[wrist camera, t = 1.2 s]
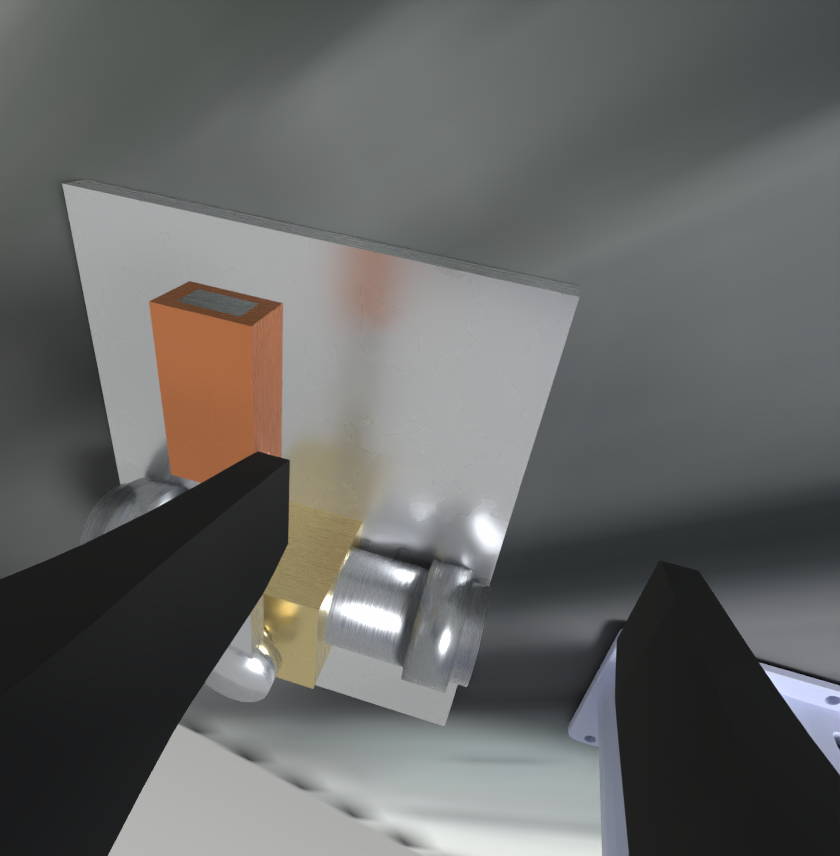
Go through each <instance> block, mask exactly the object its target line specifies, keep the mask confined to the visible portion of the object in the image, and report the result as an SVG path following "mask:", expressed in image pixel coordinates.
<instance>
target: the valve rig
mask: <svg viewBox="0 0 840 856" xmlns="http://www.w3.org/2000/svg"><path fill="white" fill-rule="evenodd" d="M62 185H63V190H64V195H65V200H66V206H67V211H68V216H69V221H70V226H71V231H72V237H73V242H74V247H75V252H76V257H77V262H78V268H79V273H80V278H81V283H82V288H83V294H84V299H85V304H86V309H87V314H88V319H89V325H90V330H91V335H92V340H93V345H94V350H95V356H96V361H97V366H98V371H99V376H100V381H101V387H102V392H103V397H104V402H105V407H106V412H107V418H108V423H109V428H110V433H111V438H112V443H113V449H114V454H115V459H116V464H117V469H118V474H119V480H120V484H119V485H117V486H115V487H113V488H112V489H110V490H109V491H108V492H106V493H105V494H104V495H103V496H102V497H101V499H100V500H99V501H98V502H97V503H96V505H95V506H94V508H93V509H92V511H91V513H90V514H89V516H88V518H87V520H86V523H85V525H84V528H83V531H82V535H81V540H80V545H83V544H85V543H87V542H89V541H91V540H93V539H95V538H97V537H99V536H101V535H103V534H105V533H107V532H109V531H111V530H113V529H115V528H117V527H119V526H121V525H123V524H125V523H127V522H129V521H131V520H133V519H135V518H137V517H139V516H141V515H143V514H145V513H147V512H149V511H151V510H153V509H155V508H157V507H158V506H160V505H162V504H164V503H166V502H168V501H169V500H171V499H173V498H175V497H177V496H179V495H180V494H182V493H184V492H186V491H188V490H190V489H191V488H193V487H195V485H194V481H192V480H189V479H185V478H182V477H178V476H175V475H171V471H170V463H169V455H168V447H167V439H166V432H165V424H164V416H163V408H162V400H161V392H160V385H159V377H158V369H157V361H156V353H155V345H154V338H153V330H152V322H151V314H150V306H149V301H151V300H153V299H155V298H157V297H159V296H161V295H163V294H165V293H167V292H169V291H171V290H173V289H175V288H177V287H179V286H181V285H183V284H185V283H187V282H189V281H191V282H195V283H200V284H204V285H208V286H212V287H217V288H221V289H225V290H229V291H234V292H238V293H242V294H246V295H250V296H255V297H259V298H263V299H267V300H272V301H276V302H280V303H283V354H282V452H281V458H285V459H288V460H290V479H289V528H288V545H287V547H286V549H285V551H284V553H283V555H282V558H281V560H280V562H279V564H278V566H277V568H276V570H275V572H274V574H273V576H272V578H271V580H270V582H269V584H268V586H267V587H266V589H265V591H264V593H263V607H264V636H266V637H267V638H268V639H269V640H270V641H272V642H273V644H274V645H275V646H276V647H277V648H278V650H279V652H280V654H281V657H282V666H281V669H280V671H279V672H278V674H277V676H276V677H278V678H281V679H284V680H287V681H290V682H293V683H296V684H299V685H302V686H306V687H309V688H312V689H314V686H315V685H317V686H320V687H323V688H326V689H329V690H332V691H335V692H339V693H342V694H345V695H348V696H351V697H354V698H357V699H360V700H363V701H367V702H370V703H373V704H376V705H379V706H382V707H385V708H388V709H391V710H394V711H398V712H401V713H404V714H407V715H410V716H413V717H416V718H419V719H422V720H426V721H429V722H432V723H435V724H438V725H441V726H444V727H445V724H446V721H447V718H448V715H449V711H450V708H451V705H452V702H453V699H454V695H455V692H456V689H457V686H458V685H461V686H465V687H467V686H468V684H469V681H470V678H471V675H472V672H473V668H474V665H475V661H476V657H477V654H478V650H479V646H480V642H481V637H482V633H483V629H484V624H485V619H486V614H487V609H488V604H489V597H490V587H489V584H490V581H491V578H492V574H493V571H494V568H495V565H496V562H497V558H498V555H499V552H500V549H501V546H502V542H503V539H504V536H505V533H506V530H507V527H508V523H509V520H510V517H511V514H512V511H513V507H514V504H515V501H516V498H517V495H518V491H519V488H520V485H521V482H522V479H523V476H524V472H525V469H526V466H527V463H528V460H529V456H530V453H531V450H532V447H533V444H534V440H535V437H536V434H537V431H538V428H539V425H540V421H541V418H542V415H543V412H544V409H545V405H546V402H547V399H548V396H549V393H550V389H551V386H552V383H553V380H554V377H555V374H556V370H557V367H558V364H559V361H560V358H561V354H562V351H563V348H564V345H565V342H566V338H567V335H568V332H569V329H570V326H571V323H572V319H573V316H574V313H575V310H576V307H577V303H578V300H579V297H580V294H579V286H577V285H572V284H567V283H563V282H558V281H554V280H549V279H544V278H540V277H535V276H530V275H526V274H521V273H517V272H512V271H507V270H503V269H498V268H494V267H489V266H484V265H480V264H475V263H471V262H466V261H461V260H457V259H452V258H448V257H443V256H438V255H434V254H429V253H424V252H420V251H415V250H411V249H406V248H401V247H397V246H392V245H388V244H383V243H378V242H374V241H369V240H365V239H360V238H355V237H351V236H346V235H342V234H337V233H332V232H328V231H323V230H318V229H314V228H309V227H305V226H300V225H295V224H291V223H286V222H282V221H277V220H272V219H268V218H263V217H259V216H254V215H249V214H245V213H240V212H235V211H231V210H226V209H222V208H217V207H212V206H208V205H203V204H199V203H194V202H189V201H185V200H180V199H176V198H171V197H166V196H162V195H157V194H153V193H148V192H143V191H139V190H134V189H129V188H125V187H120V186H116V185H111V184H106V183H102V182H97V181H93V180H88V179H84V180H78V181H73V182H68V183H62Z"/></svg>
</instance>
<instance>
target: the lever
mask: <svg viewBox="0 0 840 856" xmlns="http://www.w3.org/2000/svg"><path fill="white" fill-rule="evenodd" d="M149 306H150V314H151V322H152V330H153V338H154V345H155V353H156V361H157V369H158V377H159V385H160V392H161V400H162V408H163V416H164V424H165V432H166V439H167V447H168V455H169V463H170V471H171V475H175V476H178V477H182V478H185V479H189V480H192V481H194V485H195V486H197V485H198V484H200V483H202V482H204V481H206V480H207V479H209V478H211V477H213V476H214V475H216V474H218V473H220V472H221V471H223V470H225V469H227V468H228V467H230V466H232V465H234V464H235V463H237V462H239V461H241V460H243V459H244V458H246V457H248V456H250V455H252V454H254V453H255V452H257V451H259V452H263V453H266V454H270V455H274V456H277V457H281V452H282V354H283V303H280V302H276V301H272V300H267V299H263V298H259V297H255V296H250V295H246V294H242V293H238V292H234V291H229V290H225V289H221V288H217V287H212V286H208V285H204V284H200V283H195V282H191V281H189V282H187V283H185V284H183V285H181V286H179V287H177V288H175V289H173V290H171V291H169V292H167V293H165V294H163V295H161V296H159V297H157V298H155V299H153V300H151V301H149ZM281 666H282V657H281V654H280V652H279V650H278V648H277V647H276V646H275V645H274V644H273V642H272V641H270V640H269V639H268V638H267V637H266V636H264V607H263V595H262V596H261V598H260V599H259V601H258V603H257V604H256V606H255V607H254V609H253V610H252V612H251V613H250V615H249V616H248V618H247V619H246V621H245V622H244V624H243V626H242V627H241V629H240V630H239V632H238V633H237V635H236V636H235V638H234V639H233V641H232V642H231V644H230V645H229V647H228V648H227V650H226V651H225V653H224V654H223V656H222V657H221V659H220V660H219V662H218V663H217V665H216V666H215V668H214V669H213V671H212V672H211V674H210V675H209V677H208V678H207V680H206V681H205V683H206V684H207V685H208V686H209V687H210V688H212V689H213V690H215V691H216V692H218V693H220V694H222V695H223V696H226V697H228V698H231V699H234V700H237V701H242V702H257V701H260V700H262V699H264V698H265V697H266V696H267V694H268V692H269V690H270V688H271V686H272V684H273V682H274V680H275V678H276V676H277V674H278V672H279V671H280V669H281Z"/></svg>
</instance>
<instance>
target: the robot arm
mask: <svg viewBox="0 0 840 856" xmlns="http://www.w3.org/2000/svg"><path fill="white" fill-rule="evenodd" d="M289 479H290V460H288V459H285V458H281V457H277V456H274V455H270V454H266V453H263V452H259V451H257V452H255V453H254V454H252V455H250V456H248V457H246V458H244V459H243V460H241V461H239V462H237V463H235V464H234V465H232V466H230V467H228V468H227V469H225V470H223V471H221V472H220V473H218V474H216V475H214V476H213V477H211V478H209V479H207V480H206V481H204V482H202V483H200V484H198V485H197V486H195V487H193V488H191V489H190V490H188V491H186V492H184V493H182V494H180V495H179V496H177V497H175V498H173V499H171V500H169V501H168V502H166V503H164V504H162V505H160V506H158V507H157V508H155V509H153V510H151V511H149V512H147V513H145V514H143V515H141V516H139V517H137V518H135V519H133V520H131V521H129V522H127V523H125V524H123V525H121V526H119V527H117V528H115V529H113V530H111V531H109V532H107V533H105V534H103V535H101V536H99V537H97V538H95V539H93V540H91V541H89V542H87V543H85V544H83V545H80V546H78V547H76V548H74V549H72V550H69V551H67V552H65V553H63V554H60V555H58V556H56V557H53V558H51V559H49V560H47V561H44V562H42V563H39V564H37V565H35V566H32V567H30V568H27V569H25V570H22V571H20V572H17V573H15V574H13V575H10V576H8V577H5V578H3V579H0V856H108V854H109V852H110V850H111V848H112V846H113V844H114V842H115V841H116V839H117V837H118V835H119V833H120V831H121V829H122V827H123V825H124V823H125V821H126V819H127V817H128V815H129V814H130V811H131V810H132V808H133V806H134V804H135V802H136V800H137V798H138V796H139V794H140V792H141V790H142V788H143V787H144V785H145V783H146V781H147V779H148V778H149V776H150V774H151V772H152V770H153V768H154V766H155V764H156V763H157V761H158V759H159V757H160V755H161V753H162V752H163V750H164V748H165V746H166V744H167V742H168V740H169V739H170V737H171V735H172V733H173V731H174V730H175V728H176V727H177V725H178V723H179V722H180V720H181V718H182V717H183V715H184V713H185V712H186V710H187V709H188V707H189V705H190V704H191V702H192V701H193V699H194V698H195V696H196V695H197V693H198V692H199V690H200V689H201V687H202V686H203V684H204V683H205V681H206V680H207V678H208V677H209V675H210V674H211V672H212V671H213V669H214V668H215V666H216V665H217V663H218V662H219V660H220V659H221V657H222V656H223V654H224V653H225V651H226V650H227V648H228V647H229V645H230V644H231V642H232V641H233V639H234V638H235V636H236V635H237V633H238V632H239V630H240V629H241V627H242V626H243V624H244V622H245V621H246V619H247V618H248V616H249V615H250V613H251V612H252V610H253V609H254V607H255V606H256V604H257V603H258V601H259V599H260V598H261V596H262V595H263V593H264V591H265V589H266V587H267V586H268V584H269V582H270V580H271V578H272V576H273V574H274V572H275V570H276V568H277V566H278V564H279V562H280V560H281V558H282V555H283V553H284V551H285V549H286V547H287V545H288V528H289ZM568 734H569V736H570V737H571V738H572V739H573V740H576V741H579V742H582V743H585V744H588V745H591V746H594V747H598V748H599V771H600V802H601V833H602V856H840V685H836V684H833V683H829V682H826V681H822V680H819V679H815V678H812V677H808V676H805V675H801V674H798V673H794V672H791V671H787V670H784V669H780V668H777V667H774V666H770V665H767V664H763V663H760V662H758V660H757V659H756V657H755V656H754V654H753V653H752V651H751V650H750V648H749V647H748V645H747V644H746V642H745V641H744V639H743V638H742V636H741V635H740V633H739V632H738V630H737V629H736V627H735V626H734V624H733V622H732V621H731V619H730V618H729V616H728V615H727V613H726V612H725V610H724V609H723V607H722V606H721V604H720V602H719V601H718V599H717V598H716V596H715V595H714V593H713V592H712V590H711V589H710V587H709V586H708V584H707V583H706V581H705V580H704V578H703V577H702V575H701V574H700V572H699V571H697V570H693V569H690V568H686V567H682V566H679V565H675V564H671V563H668V562H664V561H659V562H658V564H657V566H656V568H655V570H654V572H653V573H652V575H651V577H650V579H649V581H648V583H647V585H646V586H645V588H644V590H643V592H642V594H641V596H640V597H639V599H638V601H637V603H636V605H635V607H634V609H633V610H632V612H631V614H630V616H629V618H628V620H627V622H626V623H625V625H624V627H623V628H622V629H621V630H620V631H619V633H618V635H617V636H616V638H615V640H614V642H613V644H612V646H611V648H610V649H609V651H608V653H607V655H606V657H605V659H604V661H603V662H602V664H601V666H600V668H599V670H598V672H597V674H596V675H595V677H594V679H593V681H592V683H591V685H590V687H589V688H588V690H587V692H586V694H585V696H584V698H583V700H582V701H581V703H580V705H579V707H578V709H577V711H576V713H575V714H574V716H573V718H572V720H571V722H570V724H569V726H568Z"/></svg>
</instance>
